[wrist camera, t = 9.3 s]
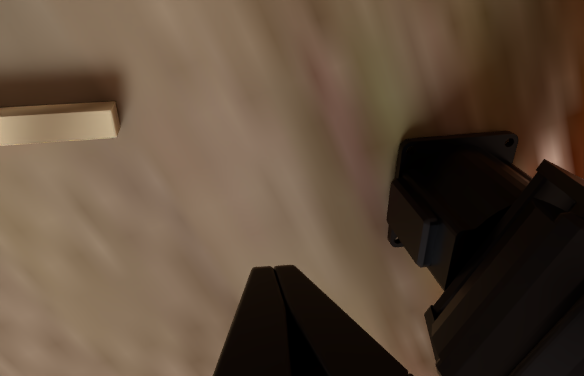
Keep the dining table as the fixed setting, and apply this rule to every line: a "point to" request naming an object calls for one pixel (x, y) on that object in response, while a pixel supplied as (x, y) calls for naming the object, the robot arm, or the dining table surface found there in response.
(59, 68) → the dining table surface
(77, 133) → the frame
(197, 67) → the dining table surface
